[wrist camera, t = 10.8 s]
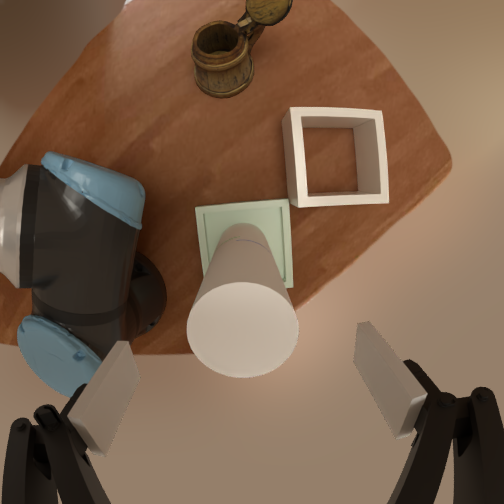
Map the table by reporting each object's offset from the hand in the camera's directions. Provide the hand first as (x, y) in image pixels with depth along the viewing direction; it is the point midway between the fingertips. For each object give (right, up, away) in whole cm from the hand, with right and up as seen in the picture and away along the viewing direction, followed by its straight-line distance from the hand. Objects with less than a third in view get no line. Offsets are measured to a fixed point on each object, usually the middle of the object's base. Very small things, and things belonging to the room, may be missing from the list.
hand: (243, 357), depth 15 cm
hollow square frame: (+12, +20, +25) cm, 34 cm away
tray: (0, +7, +28) cm, 29 cm away
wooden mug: (-2, +34, +21) cm, 40 cm away
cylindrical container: (-1, +7, +27) cm, 28 cm away
